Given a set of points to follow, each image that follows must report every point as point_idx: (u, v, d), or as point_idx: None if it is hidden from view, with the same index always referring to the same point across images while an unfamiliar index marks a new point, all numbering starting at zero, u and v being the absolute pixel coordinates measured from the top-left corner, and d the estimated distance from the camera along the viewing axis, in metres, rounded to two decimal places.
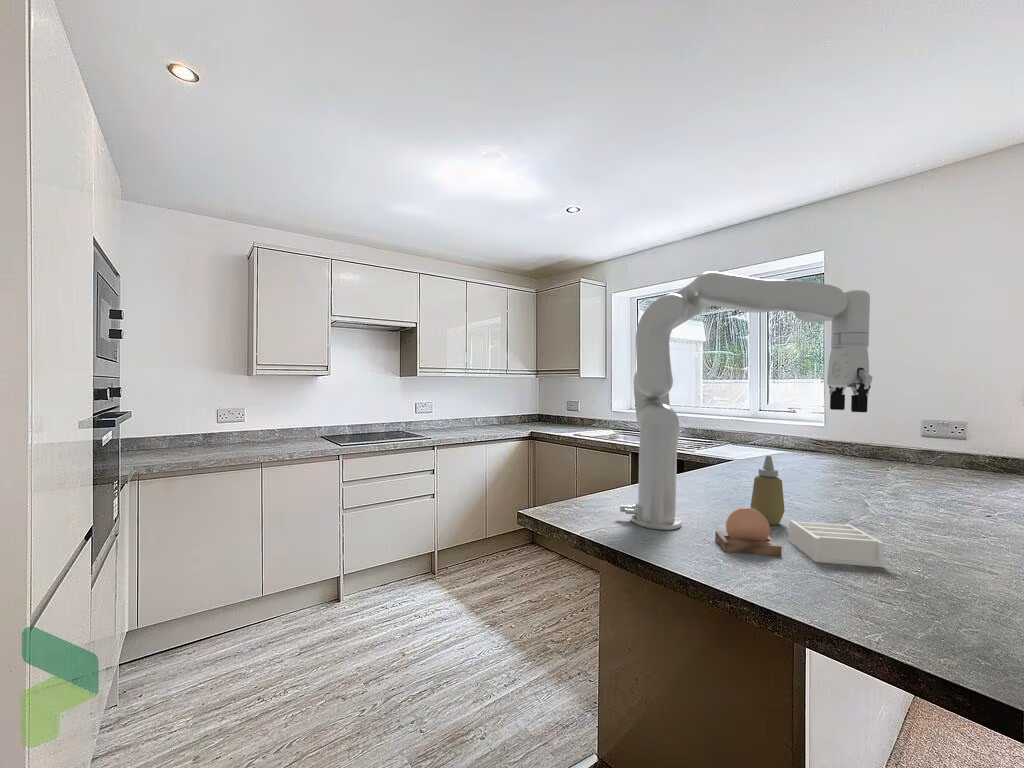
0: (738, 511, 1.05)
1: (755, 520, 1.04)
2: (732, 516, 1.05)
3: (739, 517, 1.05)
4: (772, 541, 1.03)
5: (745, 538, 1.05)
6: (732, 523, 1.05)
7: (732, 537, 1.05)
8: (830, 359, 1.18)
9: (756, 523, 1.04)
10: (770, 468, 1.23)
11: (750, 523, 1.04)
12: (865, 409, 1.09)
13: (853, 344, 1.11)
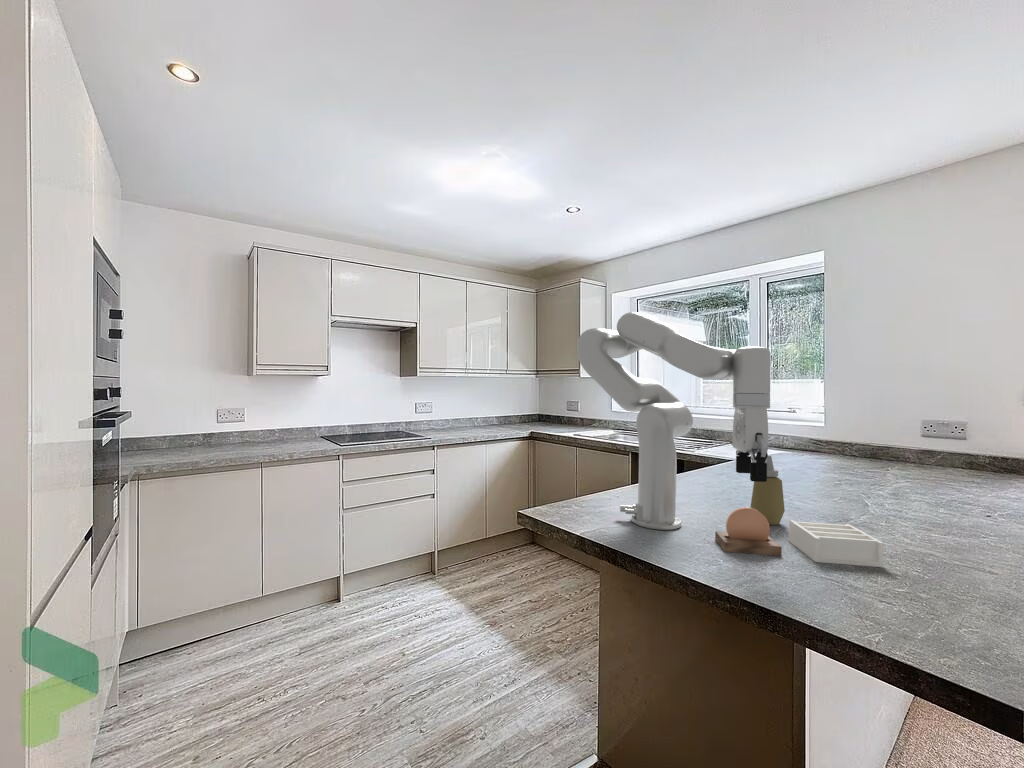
0: (738, 511, 1.05)
1: (756, 520, 1.04)
2: (732, 516, 1.05)
3: (739, 516, 1.05)
4: (772, 541, 1.03)
5: (745, 538, 1.05)
6: (732, 523, 1.05)
7: (732, 537, 1.05)
8: (734, 418, 1.08)
9: (756, 524, 1.04)
10: (770, 468, 1.23)
11: (750, 523, 1.04)
12: (764, 478, 0.99)
13: (752, 406, 1.01)
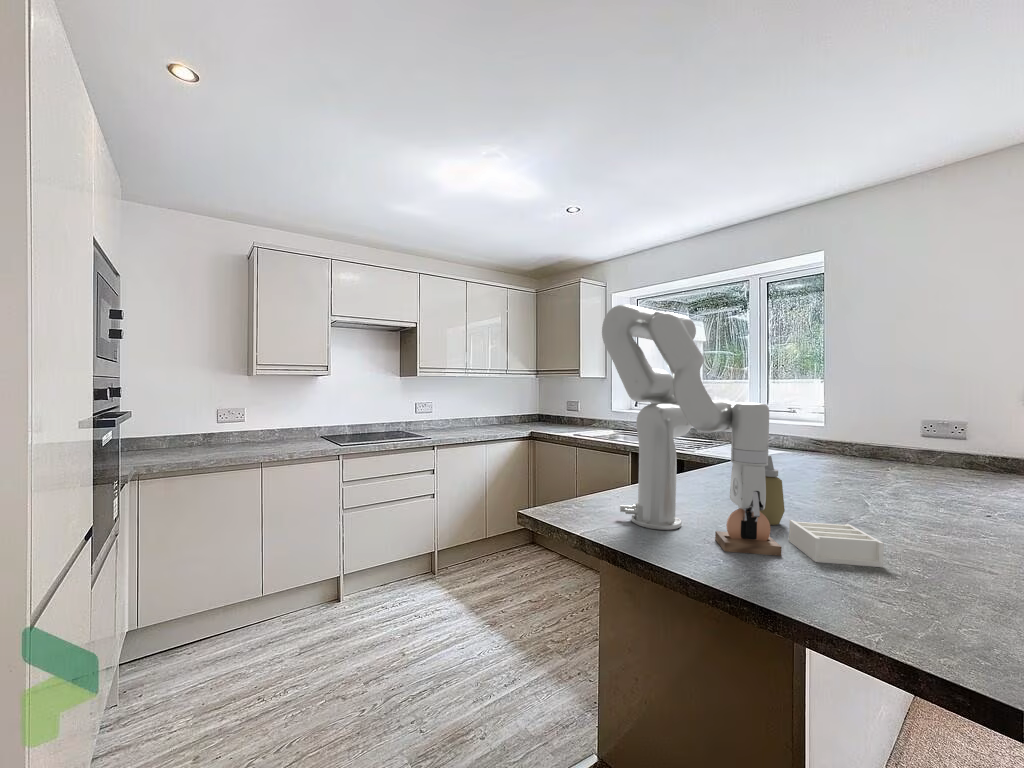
0: (739, 511, 1.05)
1: None
2: (733, 516, 1.05)
3: (740, 516, 1.05)
4: (772, 541, 1.03)
5: None
6: (733, 523, 1.05)
7: (733, 537, 1.05)
8: (732, 471, 1.09)
9: (757, 524, 1.04)
10: (770, 468, 1.23)
11: None
12: (754, 536, 1.04)
13: (750, 463, 1.02)
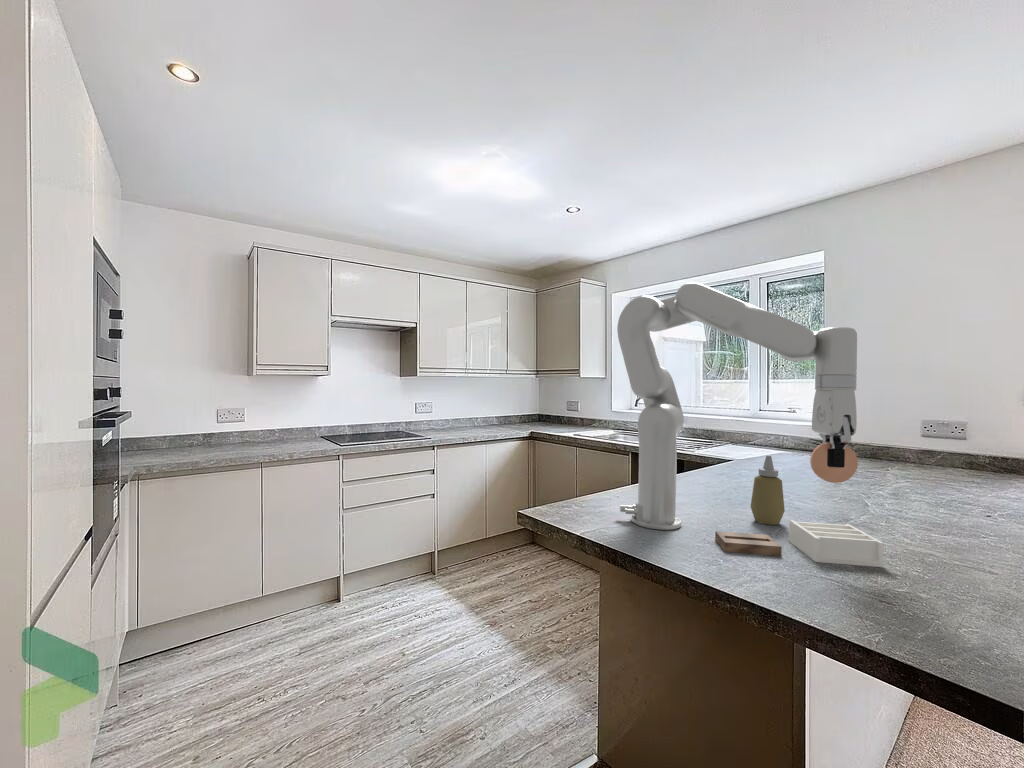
0: (829, 443, 1.02)
1: (845, 455, 1.01)
2: (822, 447, 1.02)
3: None
4: (772, 541, 1.03)
5: (829, 471, 1.02)
6: (820, 454, 1.02)
7: (816, 467, 1.02)
8: (814, 401, 1.06)
9: None
10: (770, 468, 1.23)
11: None
12: (842, 464, 1.01)
13: (839, 388, 0.99)
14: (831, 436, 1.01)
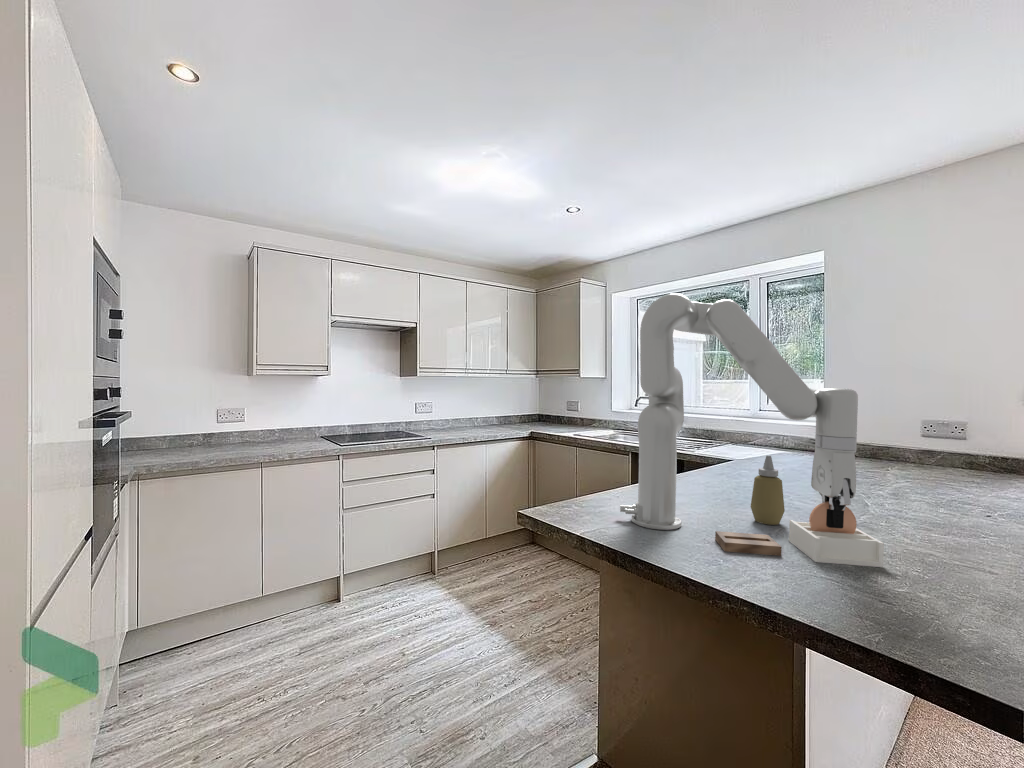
0: None
1: (846, 520, 1.02)
2: (827, 504, 1.02)
3: None
4: (772, 541, 1.03)
5: (825, 529, 1.02)
6: (823, 510, 1.02)
7: (814, 522, 1.03)
8: (814, 459, 1.06)
9: (844, 523, 1.02)
10: (770, 468, 1.23)
11: None
12: (841, 525, 1.01)
13: (839, 450, 0.99)
14: (830, 497, 1.01)
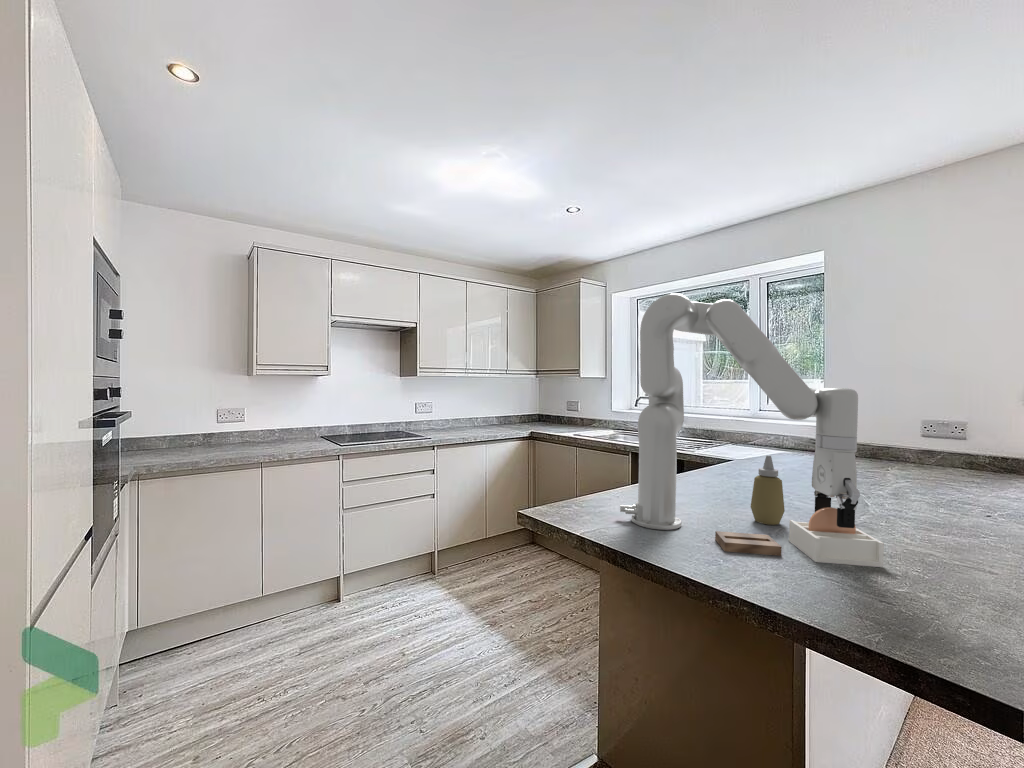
0: (835, 509, 1.02)
1: None
2: (827, 510, 1.02)
3: (832, 514, 1.02)
4: (772, 541, 1.03)
5: None
6: (822, 516, 1.02)
7: (813, 527, 1.03)
8: (815, 459, 1.06)
9: (843, 529, 1.02)
10: (770, 468, 1.23)
11: None
12: (852, 524, 0.97)
13: (839, 450, 0.99)
14: (837, 496, 0.99)
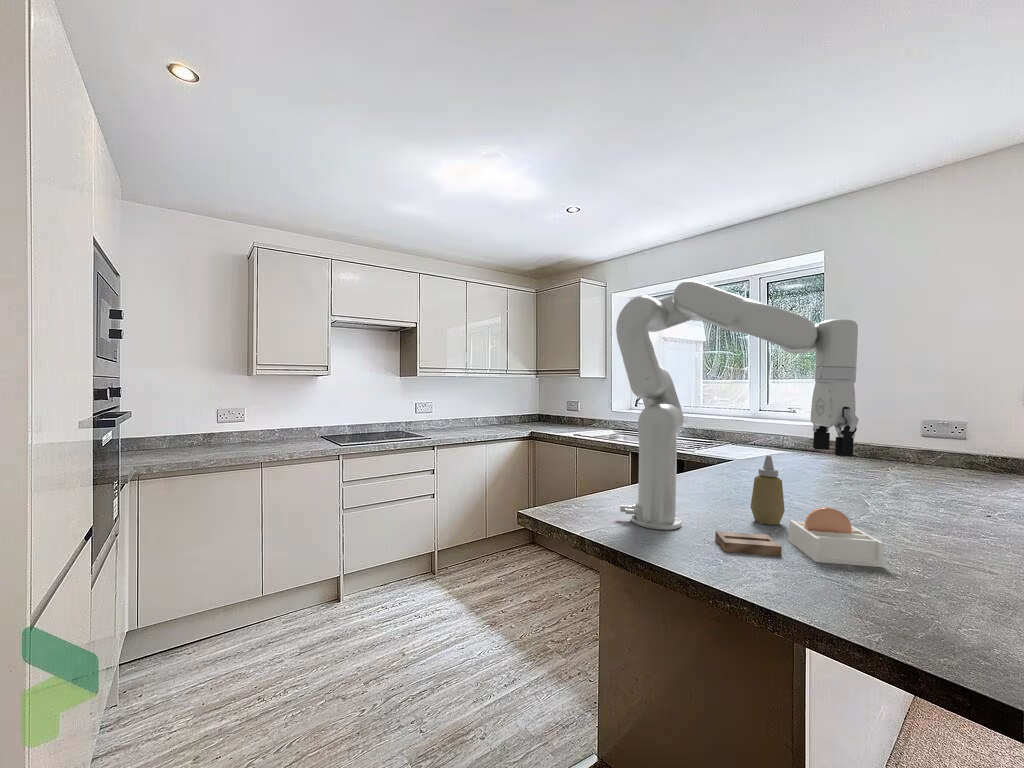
0: (827, 509, 1.02)
1: (840, 524, 1.02)
2: (819, 511, 1.03)
3: (825, 514, 1.02)
4: (772, 541, 1.03)
5: None
6: (816, 518, 1.03)
7: (809, 530, 1.03)
8: (814, 393, 1.06)
9: (838, 527, 1.02)
10: (770, 468, 1.23)
11: (833, 525, 1.02)
12: (850, 453, 0.98)
13: (838, 380, 0.99)
14: (836, 426, 0.99)
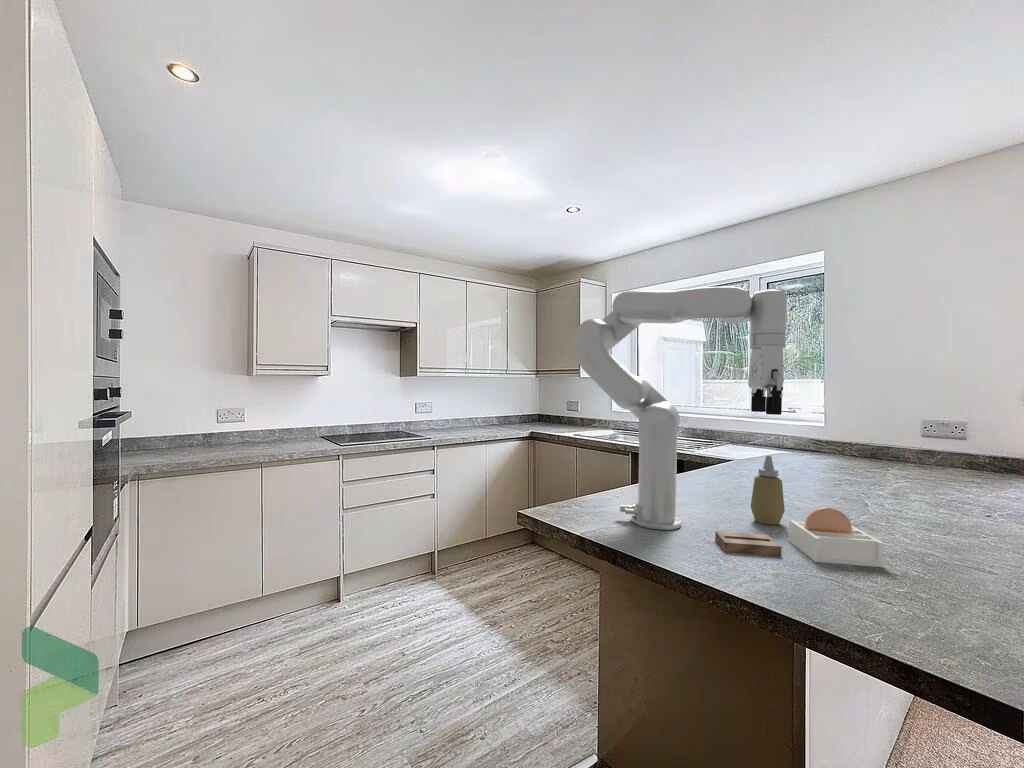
0: (828, 509, 1.02)
1: (841, 524, 1.02)
2: (819, 511, 1.03)
3: (826, 514, 1.02)
4: (772, 541, 1.03)
5: None
6: (816, 517, 1.03)
7: (809, 530, 1.03)
8: (750, 360, 1.15)
9: (839, 528, 1.02)
10: (770, 468, 1.23)
11: (833, 525, 1.02)
12: (779, 411, 1.06)
13: (768, 345, 1.08)
14: (766, 387, 1.08)
